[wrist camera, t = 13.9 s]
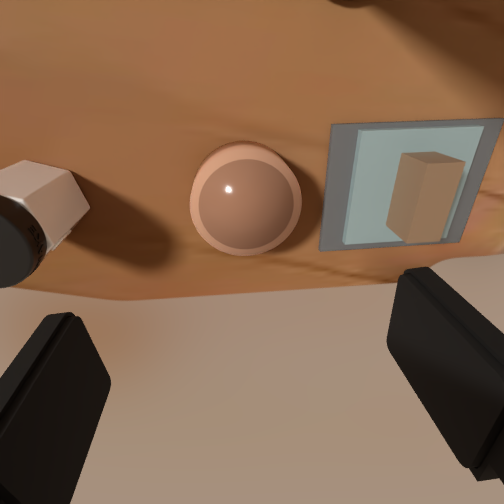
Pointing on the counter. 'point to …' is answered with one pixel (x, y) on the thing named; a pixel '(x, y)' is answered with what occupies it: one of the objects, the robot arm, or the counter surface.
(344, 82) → the counter surface
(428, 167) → the cover
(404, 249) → the counter surface
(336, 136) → the mat
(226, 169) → the bowl
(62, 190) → the jar
